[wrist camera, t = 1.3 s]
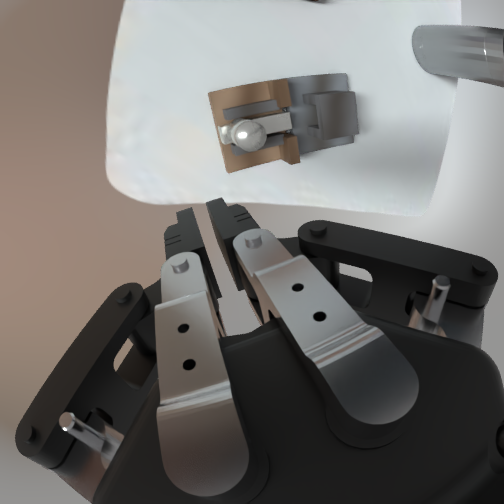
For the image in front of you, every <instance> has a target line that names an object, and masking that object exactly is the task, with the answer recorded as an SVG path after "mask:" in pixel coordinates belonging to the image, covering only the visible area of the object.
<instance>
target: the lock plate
mask: <svg viewBox="0 0 504 504" xmlns="http://www.w3.org/2000/svg"><path fill="white" fill-rule="evenodd" d="M208 96H209V100H210V105H211V109H212V113H213V117H214V121H215V126H216V130H217V134H218V138H219V142H220V146H221V151H222V155H223V159H224V163H225V167H226V171H227V172H228V173H232V172H235V171H238V170H242V169H245V168H249V167H253V166H256V165H260V164H264V163H267V162H271V161H275V160H279V159H282V160H284V161H285V162H287V163H289V164H291V165H292V164H296V163H300V156H299V154H304V153H308V152H312V151H317V150H321V149H326V148H331V147H335V146H340V145H345V144H350V143H354V139H353V135H357V134H359V131H358V119H357V109H356V100H355V92H350V91H348V83H347V76H346V73H339V74H323V75H311V76H301V77H292V78H284V79H279V80H270V81H264V82H258V83H252V84H247V85H241V86H236V87H232V88H227V89H222V90H218V91H214V92H209V93H208ZM283 107H286V110H287V112H290V118H291V124H292V129H290V134H288V133H286V131H285V130H283V131H279V132H274V133H270V134H267V138H266V141H265V144H264V145H263V146H262V147H261V148H260V149H258V150H256V151H246V150H243V149H242V148H240V147H239V146H237V145H236V144H234V143H229V144H226V145H224V144H223V143H222V142H221V139H220V134H219V130H218V126H219V125H223V124H227V123H231V122H232V121H233V120H235V119H238V118H244V119H247V118H252V117H256V116H261V115H266V114H271V113H276V112H281V111H282V108H283Z"/></svg>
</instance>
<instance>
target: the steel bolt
mask: <svg viewBox="0 0 504 504" xmlns="http://www.w3.org/2000/svg"><path fill="white" fill-rule="evenodd" d="M288 129H292V124H291V118H290V112H285V111H281V112H276V113H271V114H266V115H261V116H256V117H252V118H247V119H244V118H238V119H235V120H233V121H232V122H231V123H227V124H223V125H219V126H218V130H219V134H220V139H221V142H222V143H223V144H224V145H226V144H229V143H234V144H236V145H237V146H239V147H240V148H242V149H243V150H246V151H256V150H258V149H260V148H261V147H262V146H263V145H264V144H265V141H266V138H267V134H270V133H274V132H279V131H283V130H288Z"/></svg>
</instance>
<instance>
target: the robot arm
mask: <svg viewBox="0 0 504 504" xmlns="http://www.w3.org/2000/svg"><path fill="white" fill-rule="evenodd" d="M412 43H413V50H414V53H415V56H416V58H417V60H418V62H419V64H420V65H421V67H422V68H423V69H424V70H425V71H427V72H429V73H432V74H439V75H446V76H452V77H458V78H464V79H469V80H474V81H479V82H484V83H488V84H492V85H497V86H500V87H504V29H498V28H490V27H489V28H488V27H478V26H463V25H421V26H418V27H417V28H416V29H415V31H414V33H413V39H412ZM206 205H207V209H208V212H209V216H210V219H211V222H212V226H213V229H214V232H215V236H216V239H217V242H218V245H219V247H220V249H221V252H222V254H223V257H224V259H225V261H226V264H227V266H228V268H229V271H230V273H231V275H232V277H233V280H234V282H235V284H236V287H237V289H238V291H241V290H244V289H245V291H246V293H247V297H248V300H249V304H250V306H251V308H252V310H253V312H254V313H255V315H256V317H257V319H258V321H259V323H260V325H261V326H260V327H259V328H257V329H255V330H254V331H252V332H250V333H246V334H240V335H233V336H227V333H226V330H225V327H224V324H223V320H222V317H221V313H220V311H219V304H218V300H217V299H218V298H221V297H222V295H221V292H220V290H219V287H218V284H217V281H216V278H215V275H214V272H213V269H212V267H211V264H210V261H209V258H208V255H207V252H206V249H205V246H204V243H203V240H202V237H201V234H200V231H199V228H198V225H197V222H196V218H195V216H194V212H193V209H192V207H191V208H188V209H185V210H182V211H179V212H177V213H176V214H177V220H178V223H177V224H175V225H172V226H169V227H168V228H167V230H166V231H165V233H164V240H165V252H166V262H165V263H164V264H163V265H162V267H161V278H160V279H159V280H158V281H157V282H156V283H154V284H152V285H151V286H149V287H147V288H146V289H144V290H143V288H142V286H141V285H140V284H138V283H127V284H124V285H122V286H120V287H118V288H117V289H115V290H114V291H113V292H112V293H111V294H110V295H109V296H108V298H107V299H106V300H105V301H104V303H103V304H102V305H101V307H100V308H99V309H98V310H97V311H96V313H95V314H94V315H93V317H92V318H91V319H90V320H89V322H88V323H87V324H86V326H85V327H84V328H83V330H82V331H81V332H80V334H79V335H78V336H77V338H76V339H75V340H74V342H73V343H72V344H71V346H70V347H69V348H68V350H67V351H66V353H65V354H64V356H63V357H62V358H61V360H60V361H59V362H58V364H57V365H56V367H55V368H54V370H53V371H52V373H51V374H50V376H49V377H48V378H47V380H46V381H45V383H44V384H43V386H42V387H41V389H40V391H39V392H38V394H37V395H36V397H35V398H34V400H33V402H32V403H31V405H30V406H29V408H28V410H27V411H26V413H25V415H24V416H23V418H22V420H21V421H20V423H19V425H18V427H17V430H16V435H15V441H16V446H17V448H18V450H19V452H20V453H21V454H22V455H24V456H26V457H27V458H29V459H31V460H32V461H34V462H36V463H38V464H40V465H41V466H42V467H44V468H46V469H47V470H49V471H52V472H54V473H56V474H57V475H58V476H59V477H60V478H61V479H63V480H64V481H65V482H66V483H67V484H68V485H69V486H71V487H72V488H73V489H74V490H75V491H77V492H78V493H79V494H81V495H82V496H83V497H84V498H85V499H87V500H88V501H90V502H91V503H92V504H504V388H503V384H502V379H501V376H500V372H499V370H498V368H497V366H496V364H495V363H494V361H493V360H492V358H491V357H490V356H489V355H488V354H487V353H485V352H484V351H483V350H481V341H482V333H483V321H484V309H485V307H486V305H487V303H488V301H489V298H490V296H491V294H492V291H493V289H494V287H495V284H496V282H497V279H498V272H497V270H496V268H495V266H494V265H493V264H492V263H491V262H490V261H488V260H487V259H485V258H483V257H480V256H476V255H473V254H469V253H465V252H462V251H458V250H454V249H450V248H446V247H442V246H438V245H434V244H430V243H426V242H422V241H418V240H413V239H409V238H405V237H401V236H396V235H392V234H387V233H383V232H378V231H374V230H369V229H364V228H360V227H355V226H350V225H345V224H340V223H335V222H330V221H325V220H315V221H310V222H307V223H305V224H303V225H302V226H301V227H300V228H299V229H298V237H292V238H276V237H275V236H274V235H273V233H271V232H270V231H269V230H266V229H261V228H260V227H259V225H258V224H257V223H256V222H255V220H254V219H253V218H252V216H251V215H250V214H249V213H248V211H247V210H246V209H245V207H243V206H241V205H238V204H235V205H232V206H229V207H228V206H227V205H226V203H225V202H224V200H223V199H222V197H221V198H218V199H215V200H212V201H209V202H206ZM339 262H340V263H343V264H347V265H351V266H355V267H359V268H363V269H365V270H367V271H368V272H369V273H370V274H371V276H372V279H373V281H372V282H369V281H365V280H362V279H358V278H355V277H351V276H347V275H344V274H340V273H339ZM127 338H129V339H130V341H131V342H132V343H133V346H132V348H131V349H130V351H129V352H128V354H127V355H126V357H125V359H124V360H123V362H122V363H121V365H120V366H119V368H118V370H117V371H115V370H114V366H113V363H114V359H115V357H116V355H117V353H118V352H119V350H120V349H121V347H122V346H123V344H124V343H125V341H126V340H127Z"/></svg>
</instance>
